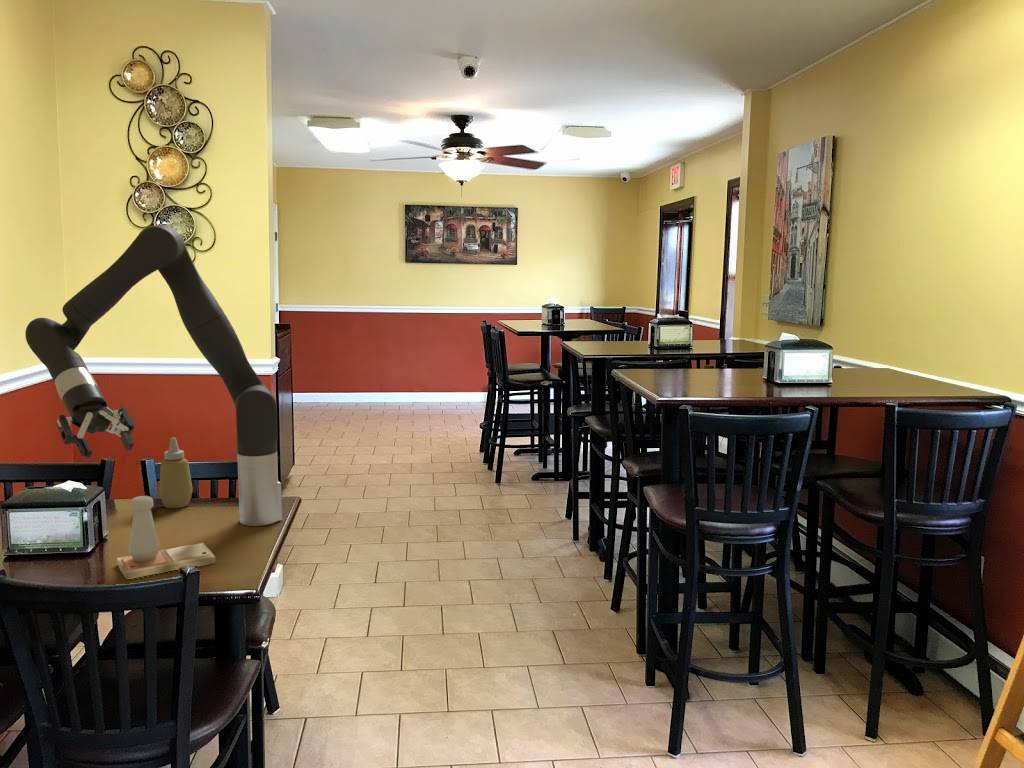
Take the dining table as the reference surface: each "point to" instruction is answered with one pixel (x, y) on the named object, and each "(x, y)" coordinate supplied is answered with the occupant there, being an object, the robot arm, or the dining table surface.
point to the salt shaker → (143, 530)
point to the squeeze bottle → (175, 478)
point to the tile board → (167, 560)
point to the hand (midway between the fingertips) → (110, 452)
